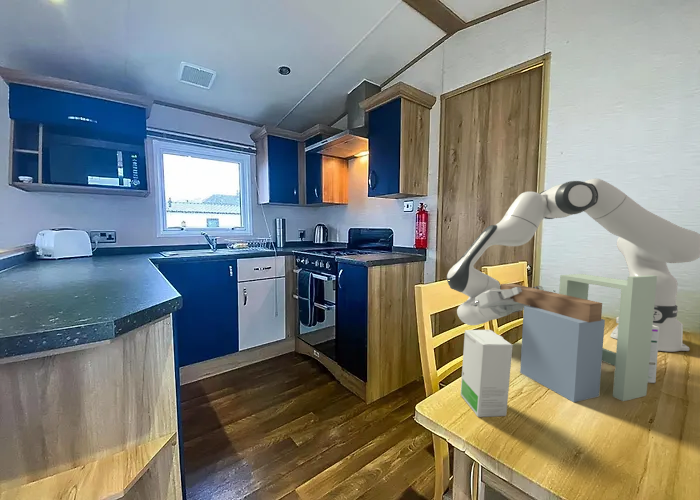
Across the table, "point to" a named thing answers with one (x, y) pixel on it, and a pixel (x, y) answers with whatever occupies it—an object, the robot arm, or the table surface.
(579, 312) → the walnut batten
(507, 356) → the skincare box
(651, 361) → the syrup box
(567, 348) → the slate-blue block
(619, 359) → the sage shelf
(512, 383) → the table surface
